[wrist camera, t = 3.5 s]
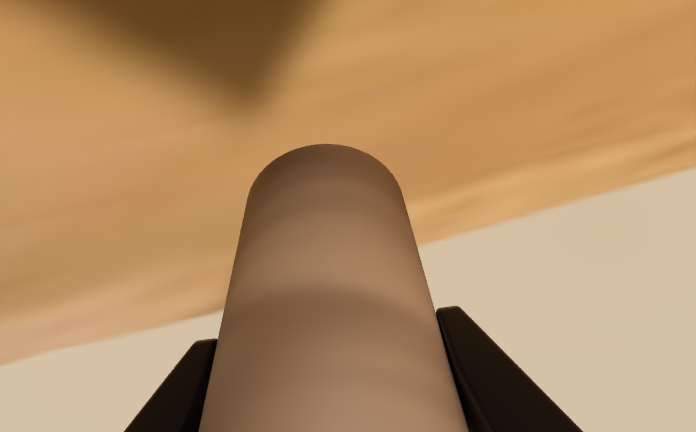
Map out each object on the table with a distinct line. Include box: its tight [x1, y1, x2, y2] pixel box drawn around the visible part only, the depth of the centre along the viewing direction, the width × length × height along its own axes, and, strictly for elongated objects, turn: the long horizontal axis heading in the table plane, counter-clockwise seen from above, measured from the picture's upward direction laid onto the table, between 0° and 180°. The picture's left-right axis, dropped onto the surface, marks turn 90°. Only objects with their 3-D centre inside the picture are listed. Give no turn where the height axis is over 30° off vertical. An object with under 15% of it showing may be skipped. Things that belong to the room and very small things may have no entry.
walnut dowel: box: [199, 144, 469, 432], centre depth 8 cm, size 4×4×10 cm
